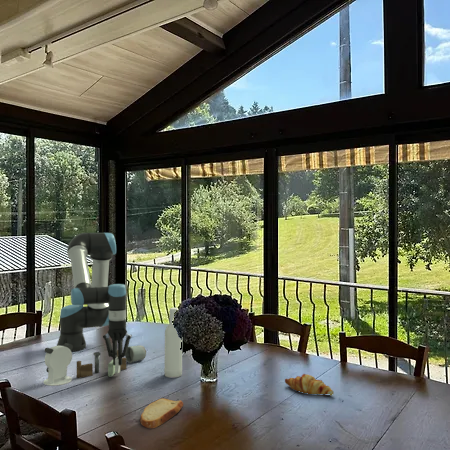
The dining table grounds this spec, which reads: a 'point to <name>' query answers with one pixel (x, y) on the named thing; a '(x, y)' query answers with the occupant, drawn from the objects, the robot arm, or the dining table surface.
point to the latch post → (96, 361)
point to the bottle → (172, 350)
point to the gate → (111, 369)
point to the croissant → (308, 385)
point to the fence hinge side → (122, 363)
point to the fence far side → (84, 370)
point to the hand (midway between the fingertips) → (117, 372)
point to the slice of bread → (159, 412)
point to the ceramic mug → (135, 353)
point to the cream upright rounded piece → (58, 364)
